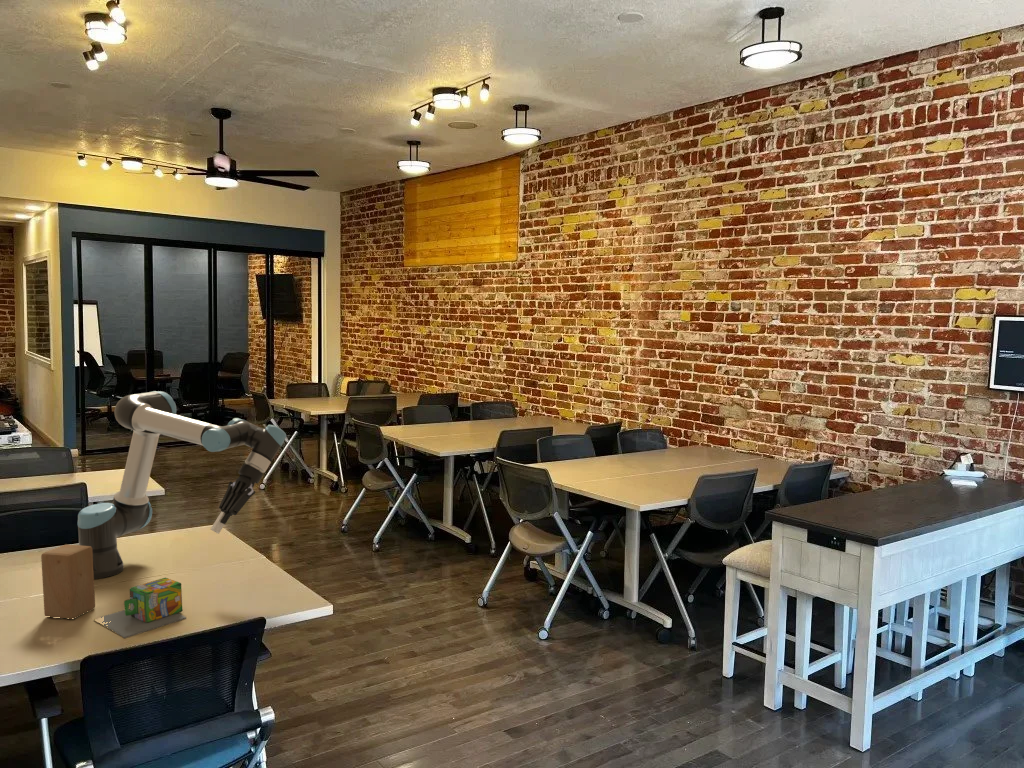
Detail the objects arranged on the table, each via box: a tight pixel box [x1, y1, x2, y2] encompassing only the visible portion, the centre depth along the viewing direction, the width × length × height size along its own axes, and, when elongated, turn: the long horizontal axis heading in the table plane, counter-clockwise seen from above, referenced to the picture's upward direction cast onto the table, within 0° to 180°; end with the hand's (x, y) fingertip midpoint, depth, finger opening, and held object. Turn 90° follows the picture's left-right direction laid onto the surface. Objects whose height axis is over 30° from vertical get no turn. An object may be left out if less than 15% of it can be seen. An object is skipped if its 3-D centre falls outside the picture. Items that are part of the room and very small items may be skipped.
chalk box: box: [123, 577, 184, 623], centre depth 229 cm, size 9×9×15 cm
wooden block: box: [40, 543, 96, 619], centre depth 231 cm, size 10×10×20 cm
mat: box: [100, 608, 187, 639], centre depth 227 cm, size 20×18×1 cm
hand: (214, 531), depth 248 cm, fingers closed
